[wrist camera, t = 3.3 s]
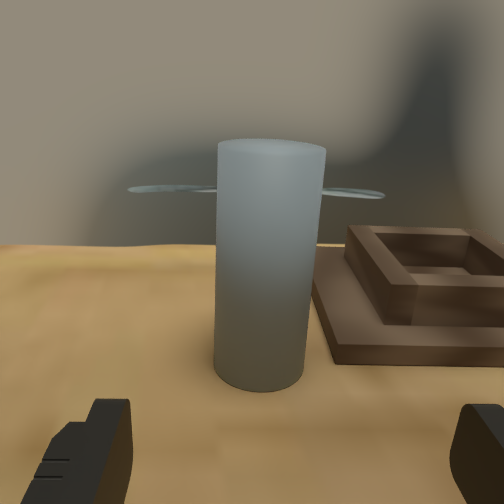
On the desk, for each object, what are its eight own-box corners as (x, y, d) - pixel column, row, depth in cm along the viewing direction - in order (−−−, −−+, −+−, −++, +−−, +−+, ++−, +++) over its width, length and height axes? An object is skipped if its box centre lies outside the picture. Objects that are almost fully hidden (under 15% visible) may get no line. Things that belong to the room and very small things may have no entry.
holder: (493, 265, 38) (504, 222, 36) (629, 368, 25) (655, 308, 23) (299, 259, 37) (303, 215, 36) (335, 363, 24) (344, 300, 23)
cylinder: (297, 339, 26) (316, 141, 22) (309, 392, 22) (336, 158, 18) (215, 337, 26) (219, 136, 22) (211, 391, 22) (216, 153, 17)
